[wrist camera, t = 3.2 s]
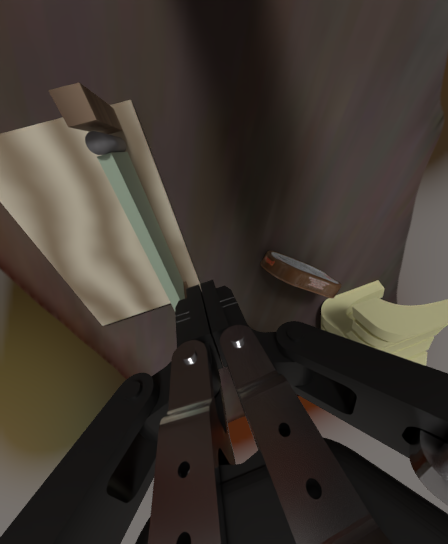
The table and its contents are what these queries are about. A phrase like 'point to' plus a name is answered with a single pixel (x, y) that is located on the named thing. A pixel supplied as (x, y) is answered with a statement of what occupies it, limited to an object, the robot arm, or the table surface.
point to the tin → (299, 274)
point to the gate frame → (89, 205)
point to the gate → (137, 209)
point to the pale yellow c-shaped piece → (384, 322)
